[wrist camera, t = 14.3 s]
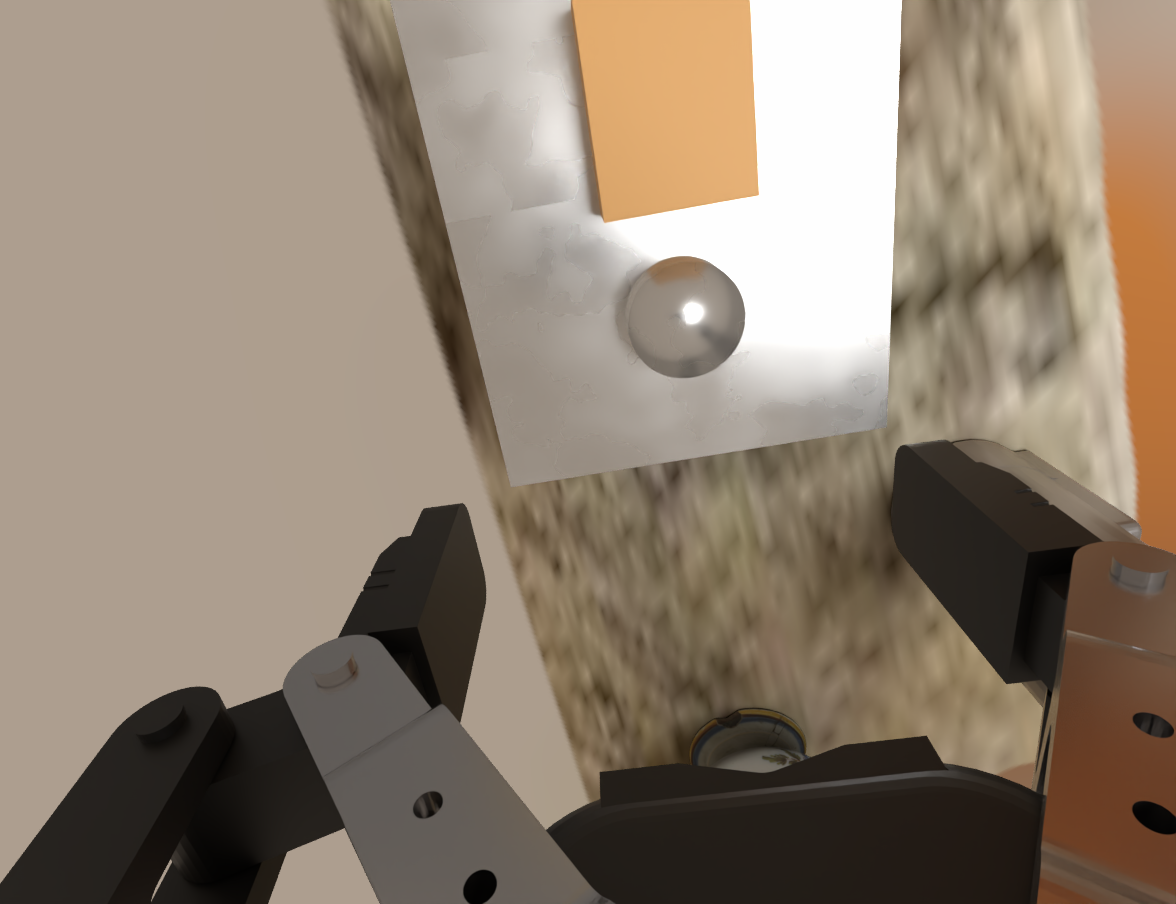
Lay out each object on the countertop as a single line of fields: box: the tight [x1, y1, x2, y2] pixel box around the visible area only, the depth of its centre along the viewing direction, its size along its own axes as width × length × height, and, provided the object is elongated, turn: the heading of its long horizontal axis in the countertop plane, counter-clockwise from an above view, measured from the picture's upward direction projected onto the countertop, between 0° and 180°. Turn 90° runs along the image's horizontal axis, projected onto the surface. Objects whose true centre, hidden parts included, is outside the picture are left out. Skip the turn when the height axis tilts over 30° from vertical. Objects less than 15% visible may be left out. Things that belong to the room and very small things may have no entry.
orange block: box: [571, 0, 759, 223], centre depth 27 cm, size 6×7×12 cm
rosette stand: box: [390, 0, 901, 487], centre depth 31 cm, size 18×20×13 cm
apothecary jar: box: [689, 709, 811, 773], centre depth 47 cm, size 12×12×18 cm
